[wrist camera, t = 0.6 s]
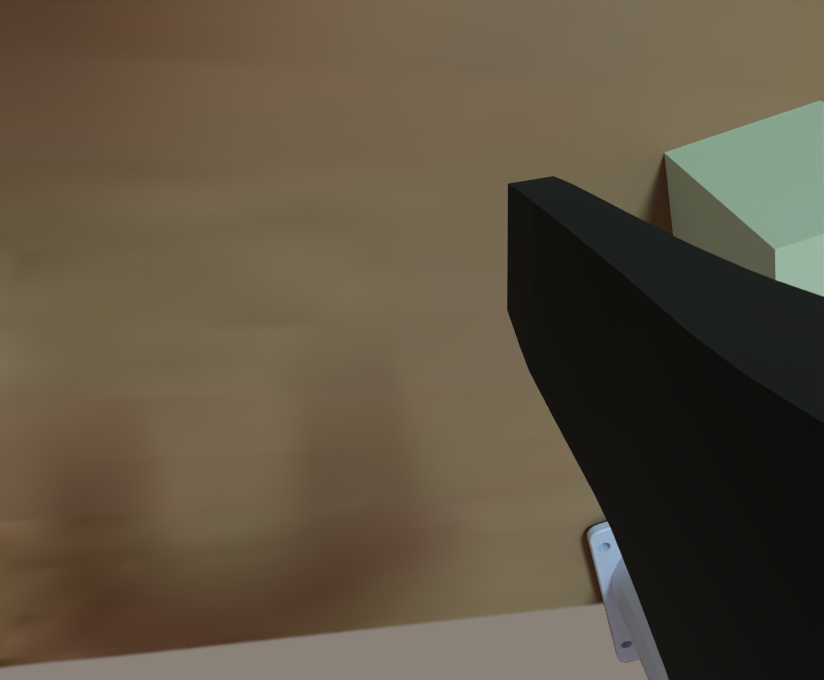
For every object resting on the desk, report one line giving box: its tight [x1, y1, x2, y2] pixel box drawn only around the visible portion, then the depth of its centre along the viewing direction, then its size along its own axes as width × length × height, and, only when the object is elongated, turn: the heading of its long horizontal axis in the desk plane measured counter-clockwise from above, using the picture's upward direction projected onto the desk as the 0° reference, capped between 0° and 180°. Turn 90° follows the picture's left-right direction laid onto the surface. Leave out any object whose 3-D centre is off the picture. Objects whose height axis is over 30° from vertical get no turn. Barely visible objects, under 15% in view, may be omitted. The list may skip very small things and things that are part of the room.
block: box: [664, 101, 824, 297], centre depth 20 cm, size 4×4×6 cm
